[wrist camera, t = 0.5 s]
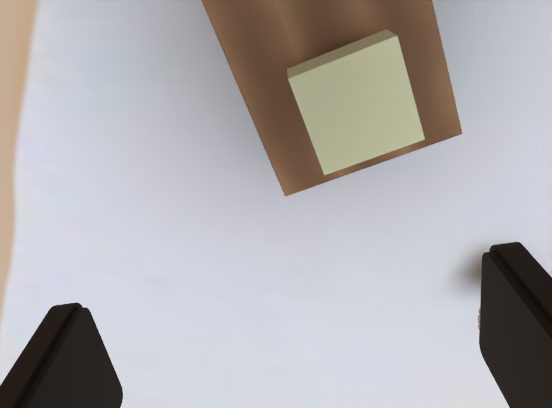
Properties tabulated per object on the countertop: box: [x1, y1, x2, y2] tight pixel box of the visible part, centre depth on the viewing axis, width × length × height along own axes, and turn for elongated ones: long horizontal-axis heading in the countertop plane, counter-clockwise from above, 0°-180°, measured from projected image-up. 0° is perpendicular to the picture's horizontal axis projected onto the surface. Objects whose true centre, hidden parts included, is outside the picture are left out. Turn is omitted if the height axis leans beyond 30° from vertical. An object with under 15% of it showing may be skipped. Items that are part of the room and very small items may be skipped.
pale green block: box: [287, 29, 425, 175], centre depth 28 cm, size 6×6×7 cm
